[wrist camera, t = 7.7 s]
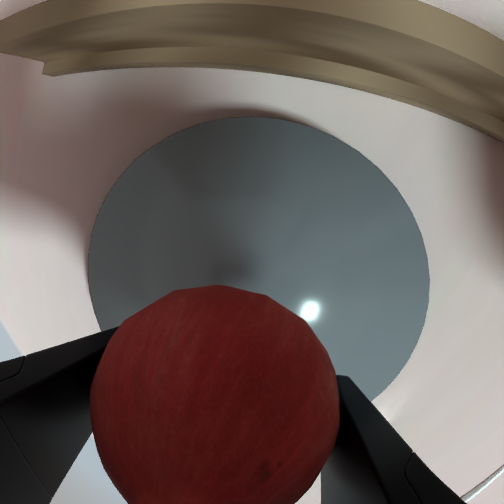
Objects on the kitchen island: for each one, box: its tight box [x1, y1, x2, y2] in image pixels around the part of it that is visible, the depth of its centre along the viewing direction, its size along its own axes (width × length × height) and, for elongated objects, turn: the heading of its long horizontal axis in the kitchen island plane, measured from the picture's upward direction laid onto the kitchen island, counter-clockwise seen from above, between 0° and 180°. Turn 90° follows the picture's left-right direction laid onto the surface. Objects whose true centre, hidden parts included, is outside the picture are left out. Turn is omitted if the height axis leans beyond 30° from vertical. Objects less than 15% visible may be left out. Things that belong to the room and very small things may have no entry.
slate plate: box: [88, 117, 430, 402], centre depth 12 cm, size 14×14×1 cm
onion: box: [89, 285, 340, 504], centre depth 7 cm, size 6×6×8 cm
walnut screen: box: [0, 0, 504, 142], centre depth 7 cm, size 22×2×4 cm, turn 81°
